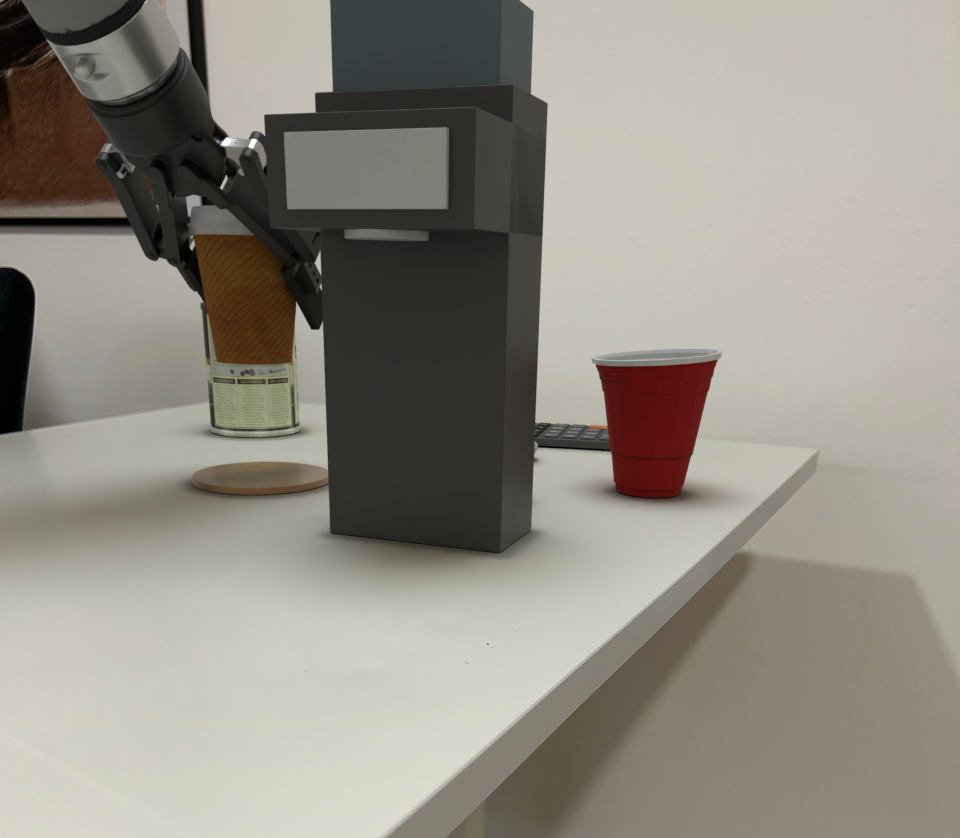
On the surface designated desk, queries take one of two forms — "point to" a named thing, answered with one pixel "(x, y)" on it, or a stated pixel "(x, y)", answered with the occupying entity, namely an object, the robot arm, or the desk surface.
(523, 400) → the coffee maker
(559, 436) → the calculator
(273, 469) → the coaster
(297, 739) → the desk surface
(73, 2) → the robot arm
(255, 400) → the coffee can
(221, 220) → the disposable coffee cup
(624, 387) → the plastic cup
